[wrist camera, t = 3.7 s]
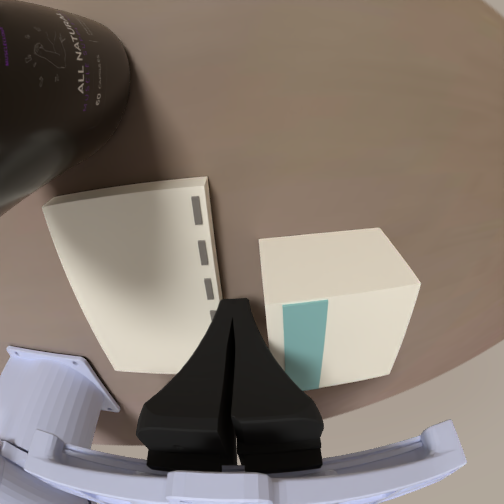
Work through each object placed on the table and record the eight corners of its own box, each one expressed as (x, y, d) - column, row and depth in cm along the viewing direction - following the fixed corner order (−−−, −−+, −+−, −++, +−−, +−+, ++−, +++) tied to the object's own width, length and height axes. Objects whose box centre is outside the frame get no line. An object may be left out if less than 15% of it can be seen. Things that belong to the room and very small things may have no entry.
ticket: (119, 357, 19) (115, 371, 18) (53, 196, 12) (40, 207, 11) (231, 359, 19) (231, 375, 18) (207, 176, 12) (203, 186, 11)
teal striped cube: (267, 328, 17) (273, 395, 13) (258, 239, 14) (265, 306, 10) (365, 315, 17) (389, 375, 13) (379, 227, 14) (422, 284, 10)
